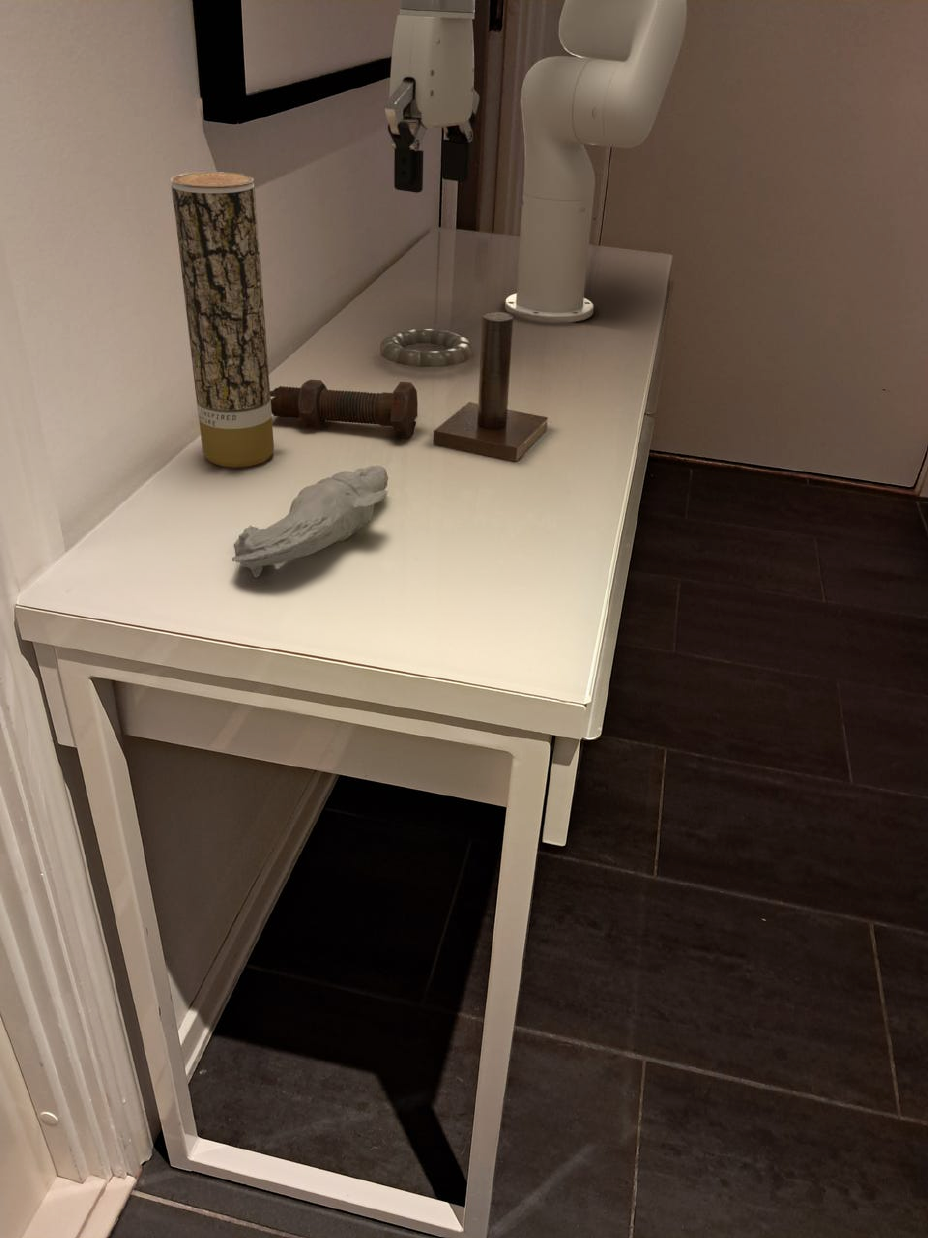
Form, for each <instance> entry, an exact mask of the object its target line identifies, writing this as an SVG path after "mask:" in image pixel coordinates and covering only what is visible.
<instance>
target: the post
mask: <svg viewBox="0 0 928 1238" xmlns="http://www.w3.org/2000/svg"><path fill="white" fill-rule="evenodd" d="M513 327H514V316H513V315H512V314H510V313H508V312H500V311H490V312H485V313H484V314H482V316H481V336H480V355H479V356H480V359H479V378H478V379H479V380H478V401H477V402H478V403H476V402H471V401H469V402H467V403H466V404H465V405H464V406H462V407H461V408H460V409H459V410H458V411H456V412H455V413H454V414H452V415H451V416H450V417H449V418H448V419H446V420H444V422H443V423H441V424H440V425H439V426H438V427H436V428H435V429H434V430H433V445H436V446H440V447H444V448H449V449H454V450H457V451H463V452H468V453H473V454H477V455H482V456H487V457H490V458H491V457H492V458H495V459H500V460H506V461H511V462H515V463H516V462H517V461H518V460H519V459H520V458H521V457H522V456H523V455H524V454H526V452H527V451H529V450H530V448H531V447H532V446H533V445H534V444H535V443H536V442H537V441H538V440H539V439H540V438H541V437H542V436H543V435H544V434H545V433H546V432H547V430H548V419H549V418H548V417H547V416H544V415H540V414H539V415H538V414H534V413H533V414H532V413H527V412H523V411H517V410H514V409H513V410H512V409H509V407H508V406H509V394H510V393H509V392H510V375H511V358H512V344H513Z"/></svg>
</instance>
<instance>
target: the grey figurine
mask: <svg viewBox="0 0 928 1238" xmlns="http://www.w3.org/2000/svg"><path fill="white" fill-rule="evenodd" d="M388 482H389V475H388V473H387V469H386V468H385V467H384V466H380V465H370V466H367V467H365V468H357V469H356V470H355V471H347V470H345V471H339V472H337V473H334V474H333V475H332V476H328V477H326V478H323V479H321V480H319V481H317V482H316V483H315V484H312V485H308V486H305V487H303V488H302V489H301V490H300V491H299V492H298V494H297V496H296V497H295V498H293V500H292V501H291V503H290V507H289V511H288V514H287V515H286V516H284V517H282V518H281V519H280V520H278V521H277V522H275V523H274V524H271V525H270V526H268V527H266V528H258V527H256V526H252V525H249V526H248V527H246V528H244V529H243V532H242V533H240V534H239V535H238V538H237V539H236V541H235V542H234V543H233V548H234V555H235V556H233V557H231V561H232V562H236V563H240V565H241V567H244V568H249V569H250V571H251V572H252V573H253V576H254V578H257V577H258V576H260V575H261V573H262V570H263V567H265V566H272V565H277V564H283V563H286V562H289V561H293V560H294V559H295V560H296V559H299V558H300V559H301V558H304V557H308V556H311V555H313V554H314V553H317V552H319V551H321V550H323V549H325V548H327V547H328V546H330V545H333V544H337V543H340V542H342V541H344V540H347V538H349V537H350V536H351V535H353V534H355V533H356V532H357V531H359V530H360V529H361V528H362V527H363V526H364V525H366V524H368V523H369V521H370V520H372V518H373V515H374V508H375V505H376V504H377V503H379V502H382V501H384V499H385V497H386V496H387V495H388V492H389V490H387V487H388Z"/></svg>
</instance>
